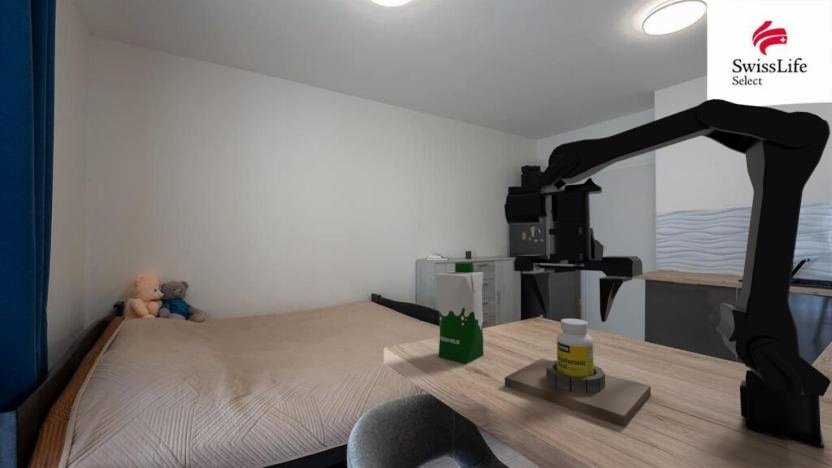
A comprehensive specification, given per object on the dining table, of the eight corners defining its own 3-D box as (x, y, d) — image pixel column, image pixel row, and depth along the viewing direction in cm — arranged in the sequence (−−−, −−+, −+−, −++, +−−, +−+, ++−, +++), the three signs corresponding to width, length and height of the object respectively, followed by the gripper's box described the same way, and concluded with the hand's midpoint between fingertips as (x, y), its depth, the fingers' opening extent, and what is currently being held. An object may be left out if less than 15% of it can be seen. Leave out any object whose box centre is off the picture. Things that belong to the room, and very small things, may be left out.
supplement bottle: (552, 382, 55) (550, 321, 55) (564, 372, 59) (562, 315, 59) (588, 391, 51) (586, 326, 52) (598, 380, 55) (596, 320, 56)
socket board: (650, 395, 53) (650, 372, 53) (624, 427, 44) (623, 400, 44) (541, 366, 66) (541, 348, 66) (504, 386, 57) (504, 365, 57)
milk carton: (489, 354, 73) (487, 262, 74) (467, 367, 67) (464, 265, 67) (455, 347, 79) (453, 261, 80) (431, 357, 72) (430, 264, 73)
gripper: (650, 220, 55) (653, 317, 54) (540, 226, 68) (542, 303, 68) (629, 217, 47) (633, 330, 47) (510, 224, 61) (513, 312, 60)
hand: (573, 317), depth 56 cm, fingers open, 9 cm apart
